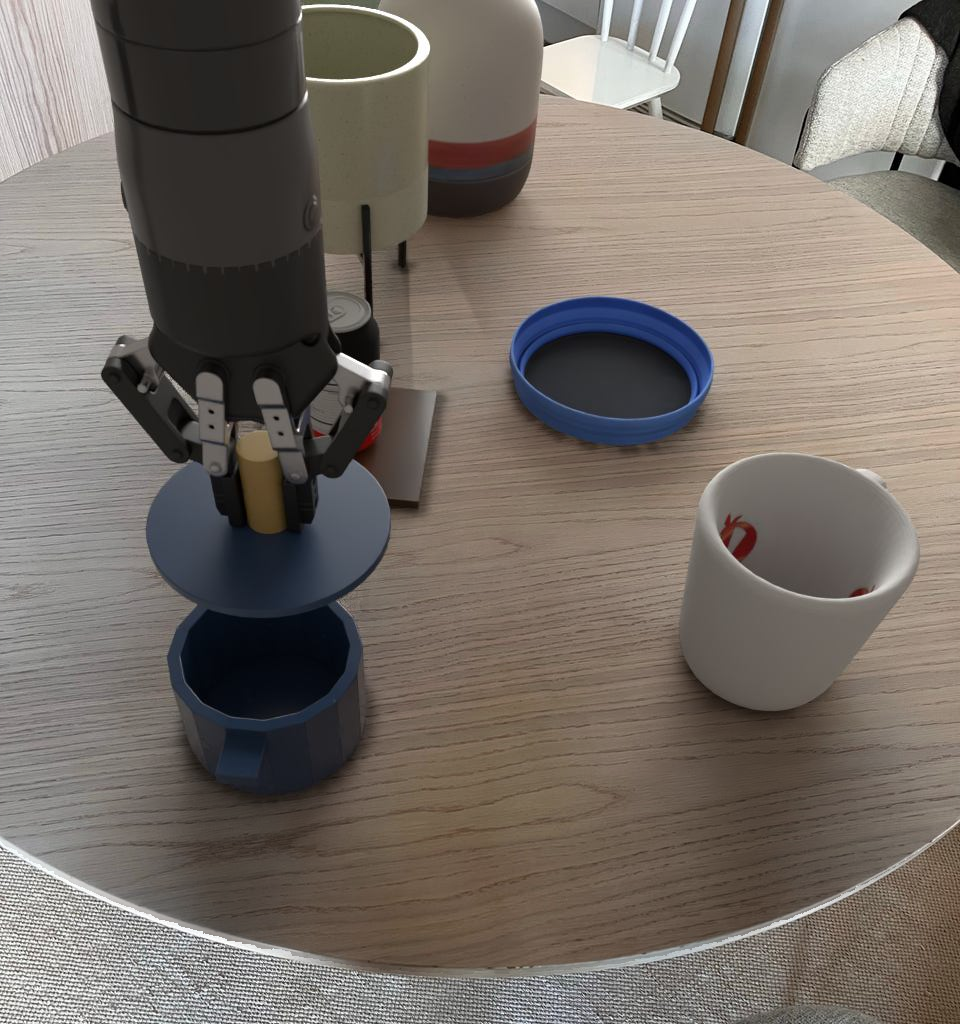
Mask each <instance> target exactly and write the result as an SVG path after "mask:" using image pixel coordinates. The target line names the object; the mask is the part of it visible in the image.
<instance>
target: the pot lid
mask: <svg viewBox="0 0 960 1024" xmlns="http://www.w3.org/2000/svg"><path fill="white" fill-rule="evenodd" d="M235 450H236V456H237V462H238V468H239V475H240V481H241V487H242V493H243V499H244V505H245V511H246V517H247V521H246V524H245V527H237V526H230V524H229V519H228V516H223V515H221V514H220V513H219V511H218V510H217V509H216V505H215V499H214V493H213V489H212V484H211V479H210V474H208V473H207V472H206V471H205V470H204V468H203V465H202V464H200V463H198V462H195V461H192V460H191V462H189V463H188V464H186V465H185V466H183V467H182V468H180V469H179V470H178V471H176V473H174V474H173V475H172V476H170V478H169V479H168V480H166V482H165V483H164V484H163V485H162V487H161V488H160V490H159V491H158V493H157V494H156V495H155V497H154V499H153V501H152V503H151V504H150V508H149V511H148V514H147V517H146V524H145V540H146V544H147V545H146V546H147V549H148V552H149V555H150V559H151V561H152V564H153V565H154V567H155V569H156V571H157V572H158V574H159V575H160V576H161V578H162V579H163V580H164V582H165V583H166V584H168V585H169V586H170V588H171V589H172V590H174V591H175V592H177V593H178V594H179V595H181V597H183V598H185V599H186V600H187V601H191V602H192V603H194V604H196V606H197V605H200V606H202V607H205V608H207V609H210V610H212V611H216V612H220V613H224V614H228V615H234V616H240V617H251V618H272V617H283V616H290V615H296V614H300V613H304V612H308V611H312V610H314V609H317V608H320V607H323V606H325V605H328V604H330V603H332V602H334V601H336V600H337V601H338V600H340V599H342V598H343V597H345V596H347V595H348V594H350V593H351V592H353V591H354V590H356V589H357V588H358V587H359V586H361V585H362V584H363V583H364V582H365V581H366V580H367V579H368V578H369V577H370V576H371V575H372V573H374V571H375V570H376V569H377V567H378V566H379V564H380V563H381V561H382V560H383V558H384V556H385V554H386V551H387V549H388V545H389V544H390V543H389V542H390V539H391V532H392V531H391V530H392V518H391V517H392V516H391V507H390V506H389V504H388V501H387V498H386V495H385V493H384V491H383V489H382V488H381V486H380V485H379V483H378V482H377V480H376V479H375V478H374V477H373V476H372V475H371V474H370V473H369V472H368V471H367V470H366V469H365V468H364V467H363V466H361V465H360V464H359V463H358V462H356V461H354V460H353V459H352V461H351V462H350V464H349V465H348V467H347V468H346V470H345V471H344V473H343V475H342V476H341V477H339V478H328V477H326V476H324V475H323V474H320V475H317V483H318V495H319V501H318V505H317V508H316V512H315V516H314V519H313V521H312V523H311V524H304V527H303V531H302V533H298V532H288V530H287V523H286V515H285V507H284V499H283V490H282V480H283V477H284V474H283V471H282V467H281V464H280V460H279V457H278V453H277V451H274V450H273V449H272V446H271V443H270V439H269V436H268V432H267V431H261V430H254V431H251V432H248V433H245V434H244V435H242V436H241V437H240V438H238V441H237V443H236V446H235Z"/></svg>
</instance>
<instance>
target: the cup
mask: <svg viewBox="0 0 960 1024" xmlns="http://www.w3.org/2000/svg"><path fill="white" fill-rule="evenodd" d="M692 534H693V535H692V541H691V547H690V554H689V559H688V563H687V571H686V576H685V582H684V588H683V594H682V600H681V604H680V605H681V606H680V611H679V620H678V621H679V623H678V634H679V635H678V636H679V643H680V648H681V651H682V655H683V657H684V660H685V661H686V663H687V665H688V667H689V669H690V670H691V672H692V674H693V675H694V676H695V677H696V679H698V681H699V682H700V683H701V684H703V685H704V686H705V687H706V688H707V689H708V690H709V691H710V692H712V693H713V694H714V695H716V696H718V697H719V698H721V699H722V700H725V701H727V702H728V703H731V704H733V705H736V706H739V707H741V708H742V707H743V708H746V709H749V710H755V711H766V712H778V711H787V710H791V709H794V708H798V707H801V706H804V705H805V704H808V703H810V702H812V701H814V699H816V698H818V697H819V696H820V695H822V694H823V693H825V691H827V689H829V688H830V687H831V686H832V685H833V683H835V682H836V681H837V679H838V678H839V677H840V675H842V674H843V672H844V670H845V669H846V668H847V667H848V666H849V664H850V663H851V662H852V660H853V659H854V658H855V657H856V655H857V654H858V653H859V652H860V650H861V649H862V648H863V647H864V645H865V644H866V642H867V641H868V640H869V639H870V638H871V636H872V635H873V633H875V631H876V630H877V628H879V626H880V625H881V623H882V622H883V620H884V619H885V618H886V617H887V616H888V614H890V612H891V610H892V609H893V608H894V607H895V606H896V604H897V603H898V601H900V599H901V598H902V597H903V595H904V594H905V593H906V591H907V590H908V589H909V588H910V586H911V584H912V582H913V581H914V578H915V577H916V575H917V571H918V569H919V565H920V560H921V546H920V545H921V544H920V538H919V535H918V532H917V528H916V526H915V524H914V523H913V521H912V518H911V517H910V515H909V513H908V511H907V510H906V509H905V507H904V506H903V505H902V504H901V503H900V502H899V500H898V499H897V498H896V497H895V496H894V495H893V494H892V493H891V492H889V491H888V489H887V483H886V481H885V480H884V478H883V477H882V476H880V475H878V474H876V472H873V471H871V470H869V469H867V468H862V467H861V468H853V467H851V466H848V465H847V464H844V463H842V462H839V461H836V460H832V459H829V458H827V457H826V458H825V457H822V456H819V455H813V454H807V453H800V452H787V451H786V452H784V451H782V452H780V451H779V452H767V453H761V454H756V455H752V456H748V457H745V458H743V459H740V460H737V461H735V462H732V463H731V464H729V465H728V466H726V467H725V468H723V469H722V470H721V471H719V472H718V473H717V474H716V475H715V476H714V477H713V478H712V479H711V480H710V482H709V483H708V484H707V485H706V487H705V489H704V490H703V492H702V495H701V496H700V500H699V503H698V506H697V512H696V517H695V523H694V529H693V533H692Z"/></svg>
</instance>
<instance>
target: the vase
mask: <svg viewBox="0 0 960 1024" xmlns="http://www.w3.org/2000/svg"><path fill="white" fill-rule="evenodd" d="M377 10H378V11H381V12H385V13H388V14H391V15H394V16H397V17H399V18H401V19H404V20H406V21H408V22H409V23H411V24H413V25H414V26H416V27H417V28H418V29H419V30H420V31H422V32H423V34H424V35H425V36H426V38H427V39H428V42H429V45H430V83H429V144H428V203H427V216H432V217H436V218H444V219H456V220H457V219H458V220H459V219H472V218H473V219H474V218H479V217H480V218H481V217H483V216H488V215H490V214H493V213H495V212H498V211H500V210H502V209H504V208H505V207H507V206H509V205H510V204H511V203H512V202H513V201H514V200H515V199H516V198H517V197H518V196H519V194H520V193H521V192H522V190H523V188H524V186H525V185H526V182H527V180H528V177H529V175H530V172H531V168H532V164H533V160H534V159H533V158H534V151H535V143H536V133H537V123H538V116H539V115H538V113H539V105H540V104H539V103H540V93H541V83H542V75H543V63H544V42H545V41H544V39H545V38H544V27H543V23H542V18H541V14H540V11H539V8H538V5H537V3H536V1H535V0H379V4H378V6H377Z"/></svg>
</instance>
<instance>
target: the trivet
mask: <svg viewBox="0 0 960 1024" xmlns="http://www.w3.org/2000/svg"><path fill="white" fill-rule="evenodd" d="M437 400H438V391H437V390H427V389H417V388H416V389H415V388H405V387H396V386H395V387H394V386H391V387H390V391H389V396H388V401H387V406H386V409H385V410H384V412H383V413H382V429H381V432H380V435H379V437H378V438H377V439H376V441H375V442H374V443H373V444H372V445H370V446H369V447H367V448H365V449H363V450H361V451H359V452H357V453H356V455H355V456H354V458H353V460H354V461H356V462H358V463H359V464H360V465H361V466H363V467H364V468H365V469H366V470H367V471H368V472H369V473H370V474H371V475H372V476H373V477H374V478H375V479H376V480H377V482H378V483H379V485H380V486H381V488H382V489H383V491H384V493H385V495H386V498H387V501H388V504H389V507H394V508H395V507H396V508H404V509H405V508H406V509H416V510H417V509H418V510H419V508H420V503H421V497H422V491H423V485H424V479H425V474H426V473H425V472H426V466H427V461H428V454H429V448H430V444H431V437H432V432H433V425H434V419H435V413H436V408H437ZM260 431H267V429H266V425H263V424H261V428H260Z"/></svg>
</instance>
